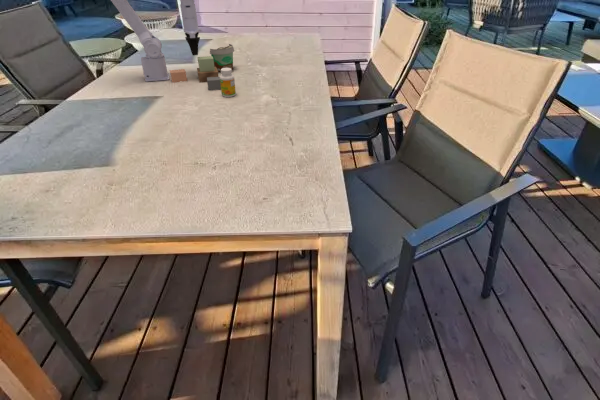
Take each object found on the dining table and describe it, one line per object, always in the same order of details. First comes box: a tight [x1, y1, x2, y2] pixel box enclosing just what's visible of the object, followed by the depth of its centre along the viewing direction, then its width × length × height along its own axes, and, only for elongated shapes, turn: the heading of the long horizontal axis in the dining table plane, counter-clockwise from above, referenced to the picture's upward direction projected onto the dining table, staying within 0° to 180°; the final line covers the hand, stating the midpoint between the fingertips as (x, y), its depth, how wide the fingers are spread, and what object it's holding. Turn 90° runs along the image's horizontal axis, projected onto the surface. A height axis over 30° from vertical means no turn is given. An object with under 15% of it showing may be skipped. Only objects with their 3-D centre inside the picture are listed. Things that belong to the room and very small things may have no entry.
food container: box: [209, 43, 235, 73], centre depth 168 cm, size 12×6×10 cm, turn 143°
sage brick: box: [197, 55, 215, 72], centre depth 157 cm, size 6×4×5 cm, turn 108°
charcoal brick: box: [206, 76, 221, 91], centre depth 150 cm, size 6×4×4 cm, turn 102°
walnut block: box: [196, 67, 220, 83], centre depth 160 cm, size 8×8×4 cm
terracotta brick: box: [169, 68, 188, 83], centre depth 158 cm, size 6×4×4 cm, turn 112°
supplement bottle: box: [219, 68, 237, 98], centre depth 142 cm, size 5×5×10 cm
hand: (194, 52), depth 159 cm, fingers open, 7 cm apart
